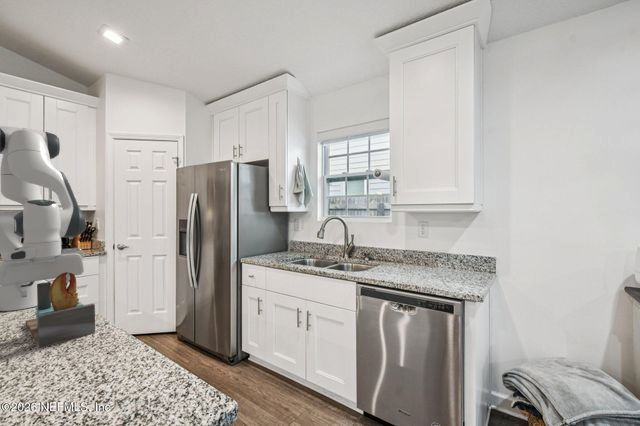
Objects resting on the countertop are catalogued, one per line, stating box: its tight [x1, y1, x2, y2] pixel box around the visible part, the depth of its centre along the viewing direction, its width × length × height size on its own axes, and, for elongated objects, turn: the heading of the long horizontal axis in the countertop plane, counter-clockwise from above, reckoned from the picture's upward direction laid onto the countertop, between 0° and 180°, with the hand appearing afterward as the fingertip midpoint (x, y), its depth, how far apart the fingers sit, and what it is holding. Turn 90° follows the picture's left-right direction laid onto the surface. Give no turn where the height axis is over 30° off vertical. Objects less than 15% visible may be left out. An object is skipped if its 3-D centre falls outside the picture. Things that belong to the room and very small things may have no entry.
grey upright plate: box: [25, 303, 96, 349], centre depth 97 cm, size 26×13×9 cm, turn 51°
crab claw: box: [49, 272, 80, 311], centre depth 92 cm, size 7×5×20 cm
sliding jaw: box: [35, 281, 84, 328], centre depth 96 cm, size 7×10×14 cm
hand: (43, 293), depth 94 cm, fingers open, 8 cm apart
